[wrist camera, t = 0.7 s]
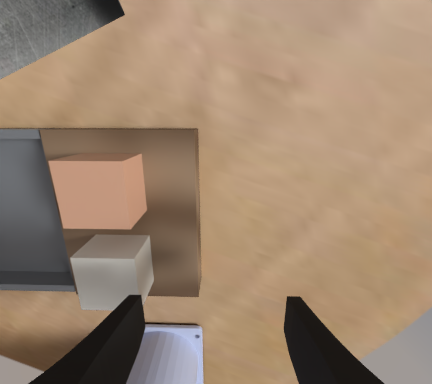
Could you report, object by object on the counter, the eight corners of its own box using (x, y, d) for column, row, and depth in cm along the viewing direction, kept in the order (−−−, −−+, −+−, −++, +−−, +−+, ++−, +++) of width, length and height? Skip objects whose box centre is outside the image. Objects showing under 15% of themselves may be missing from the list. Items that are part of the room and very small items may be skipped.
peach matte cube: (146, 210, 16) (130, 229, 13) (91, 209, 16) (63, 228, 13) (141, 153, 15) (122, 161, 12) (81, 153, 15) (48, 160, 12)
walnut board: (201, 276, 21) (198, 296, 18) (93, 274, 21) (76, 294, 18) (198, 128, 17) (193, 129, 14) (65, 128, 17) (39, 129, 15)
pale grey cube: (153, 280, 18) (140, 311, 15) (104, 279, 18) (81, 309, 15) (149, 235, 17) (134, 259, 14) (96, 234, 17) (70, 257, 14)
